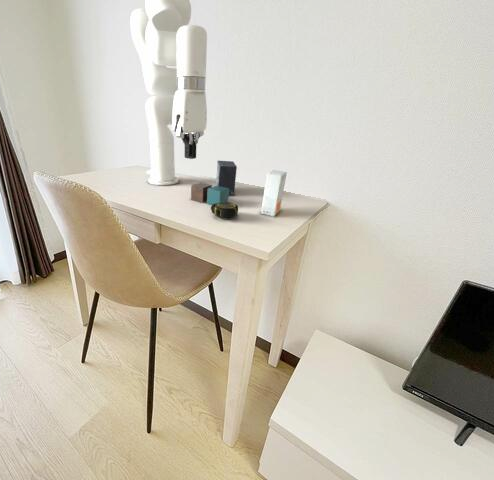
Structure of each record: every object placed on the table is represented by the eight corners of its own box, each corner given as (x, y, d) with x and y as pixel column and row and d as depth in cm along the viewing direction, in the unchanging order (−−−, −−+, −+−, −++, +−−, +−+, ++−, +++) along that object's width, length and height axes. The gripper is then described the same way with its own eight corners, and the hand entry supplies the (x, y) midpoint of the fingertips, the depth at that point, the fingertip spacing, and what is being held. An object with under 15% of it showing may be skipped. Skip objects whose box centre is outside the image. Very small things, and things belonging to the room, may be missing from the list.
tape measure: (231, 212, 78) (232, 200, 76) (241, 220, 72) (242, 207, 71) (210, 213, 76) (210, 201, 75) (218, 222, 70) (219, 209, 69)
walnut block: (191, 199, 88) (191, 185, 86) (200, 196, 92) (200, 182, 89) (202, 202, 85) (203, 187, 83) (211, 199, 89) (212, 184, 86)
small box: (235, 195, 93) (237, 166, 88) (216, 195, 93) (218, 165, 88) (231, 187, 102) (234, 160, 97) (215, 187, 102) (216, 160, 97)
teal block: (206, 203, 85) (207, 188, 82) (215, 199, 88) (216, 185, 86) (219, 206, 82) (220, 191, 80) (228, 203, 85) (229, 188, 83)
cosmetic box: (274, 216, 75) (281, 175, 70) (260, 213, 77) (266, 173, 72) (280, 210, 80) (287, 171, 74) (266, 208, 82) (272, 169, 76)
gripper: (198, 88, 75) (196, 153, 84) (160, 84, 65) (163, 159, 74) (219, 87, 71) (215, 156, 79) (182, 83, 61) (182, 163, 69)
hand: (190, 157), depth 76 cm, fingers closed
